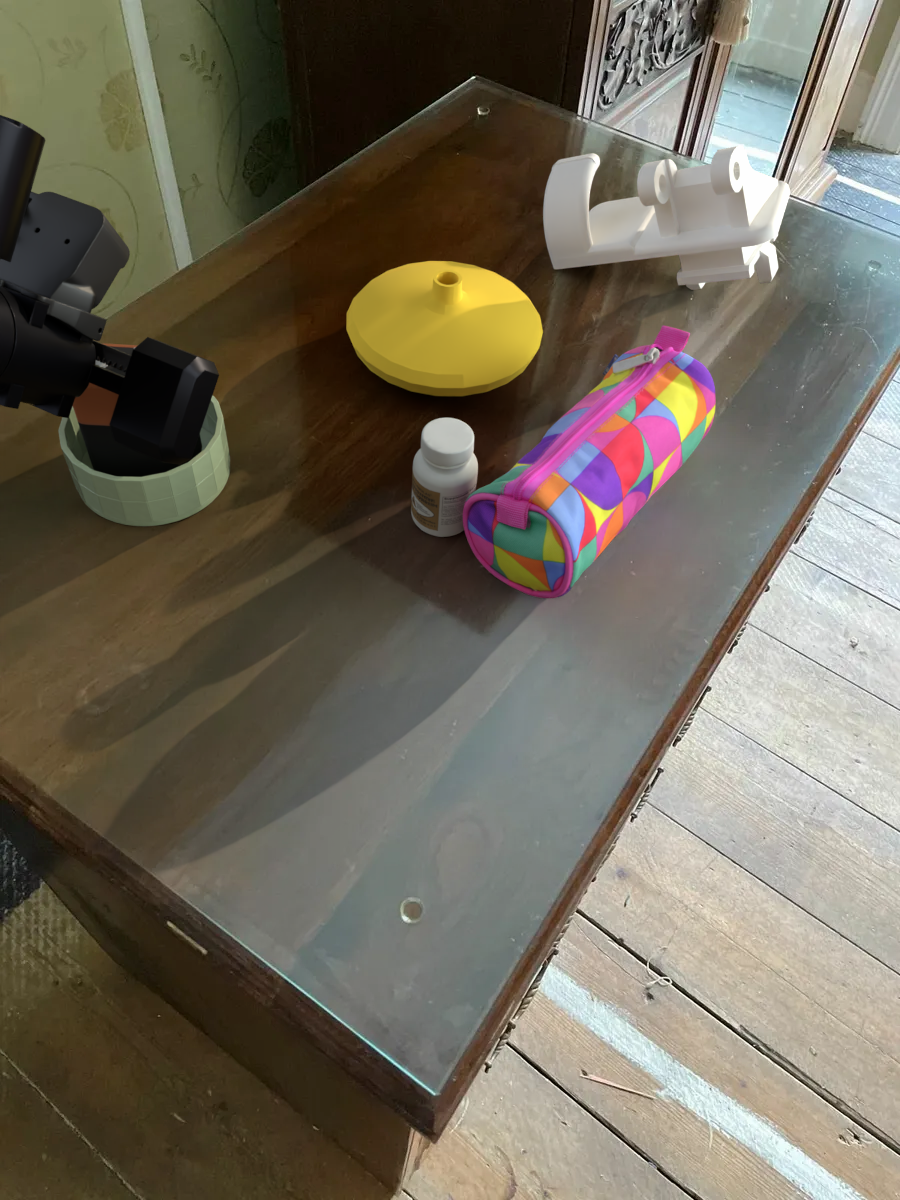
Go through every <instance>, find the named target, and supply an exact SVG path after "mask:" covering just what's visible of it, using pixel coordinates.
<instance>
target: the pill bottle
mask: <svg viewBox="0 0 900 1200" xmlns="http://www.w3.org/2000/svg"><path fill="white" fill-rule="evenodd" d="M474 433H475V432H474V431H473V429H472V428H471V426H470V425H469V424H467V423H466V422H464V421H462V420H461V419H458V418H454V417H439V418H435V419H433V420H431V421H429V422H427V423H426V424H425V425H424V427H423V428H422V431H421V436H420V448H419V449H418V450H417V451H416V453H415V455H414V457H413V461H412V474H411V478H412V479H411V501H410V502H411V503H410V513H411V518H412V521H413V523H414V524H415V525H416V526H417V527H418V529H420V530H421V532H422V531H423V532H424V533H426V534H428V535H431V536H434V537H440V538H444V537H452V536H456V535H459V534H460V533H462V532H464V526H463V509H464V505H465V502H466V500H467V498H468V497H469V495H470V494H472V493H473V492H475V491H476V490H477V483H478V474H479V463H478V458H477V456H476V455H475V453H474V450H475V434H474Z"/></svg>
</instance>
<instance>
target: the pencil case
mask: <svg viewBox="0 0 900 1200" xmlns="http://www.w3.org/2000/svg"><path fill="white" fill-rule="evenodd" d="M690 335H691V333H690V332H689V331H686V330H682V329H679V328H676V327H672V326H668V325H664V324H663V325H661V327H660V330H659V331H658V334H657V335H656V337H655V339H654V340H653V343H652V344H646V345H645V344H644V345H640V346H637V347H635V348H632V349H629V350H627V351H625V352H624V353H622V354H621V355H620V356H619V355H618V354H617V353H614V354H613V356H612V358H611V360H610V361H609V363H608V364H607V366H606V367H605V369H604V370H603V372H602V375H603V376H604V377H603V378H602V380H601V381H600V383H599V384H598V385H596V386H595V387H594V388H593V389H591V390H590V391H589V392H588V393H587V394H586V395H585V396H584V397H583V398H582V399H580V400H579V401H578V402H577V403H576V404H574V405H573V407H571V408H570V409H569V410H568V411H566V412H565V413H564V414H563V415H562V416H561V417H560V418H559V419H558V420H557V421H555V422H554V423H553V424H552V425H551V426H550V427H549V428H548V430H547V431H546V432H545V434H544V435H543V437H542V438H541V441H540V442H539V443H538V444H536V445H535V446H534V447H533V448H532V449H531V450H530V451H528V452H527V453H526V454H524V455H523V456H522V457H521V458H520V459H519V460H518V461H517V462H516V463H515V464H514V465H513V467H512V468H511V469H509V471H507V472H505V474H502V475H501V476H499V477H498V478H496V479H494V480H493V481H492V482H491V483H489V484H486V485H485V486H482V487H479V488H478V489H476V491H475V492H473V493H472V494H470V495H469V497H468V498H467V500H466V502H465V505H464V509H463V526H464V530H463V532H464V534H465V537H466V539H467V543H468V545H469V547H470V549H471V552H472V553H473V555H474V556H475V558H476V559H477V561H478V562H479V563H480V564H481V565H482V566H483V568H485V569H486V570H487V571H488V572H489V573H490V574H491V575H493V577H494V578H497V579H498V580H499V581H500V582H502V583H505V584H506V585H507V586H509V587H510V588H512V589H515V590H516V591H519V592H521V593H523V594H525V595H528V596H531V597H534V598H539V599H557V598H561V597H563V596H565V595H566V594H568V593H570V591H571V590H572V588H573V587H574V585H575V584H576V582H577V581H578V580H579V579H580V577H581V576H582V574H583V573H584V571H586V570H587V569H588V568H589V567H590V566H591V565H592V564H593V563H594V562H595V561H596V560H597V559H598V557H599V556H600V555H601V554H602V553H603V552H604V551H605V550H606V548H607V547H608V546H609V545H610V543H611V542H612V541H613V540H614V539H615V537H617V536H618V535H619V534H620V533H621V532H622V531H624V530H625V529H626V528H627V527H628V525H630V524H629V523H630V521H632V520H633V518H634V517H635V516H636V515H637V513H639V511H640V510H641V509H642V508H643V507H644V506H645V505H646V504H647V503H648V501H649V500H650V499H651V497H652V496H653V495H654V494H655V493H657V492H658V490H659V489H661V487H663V485H664V484H666V483H667V482H668V480H670V479H671V478H672V477H673V476H674V475H675V474H676V473H677V472H678V470H680V468H681V467H682V466H683V465H684V464H685V463H686V462H687V460H688V459H689V458H690V457H691V455H692V454H693V453H694V451H695V450H696V449H697V447H698V446H699V444H700V443H701V442H702V441H703V440H704V439H705V438H706V436H707V435H708V433H709V432H710V431H711V428H712V426H713V423H714V419H715V414H716V404H717V403H716V387H715V381H714V379H713V377H712V374H711V372H710V371H709V369H708V368H707V367H706V365H704V364H703V363H702V362H700V361H699V360H698V359H696V358H694V357H692V356H691V355H689V354H687V353H686V352H684V351H683V350H684V349H685V347H686V346H687V344H688V342H689V338H690Z"/></svg>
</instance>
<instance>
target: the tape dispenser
mask: <svg viewBox="0 0 900 1200" xmlns="http://www.w3.org/2000/svg"><path fill="white" fill-rule="evenodd" d="M600 164H601V158H600V156H599V155H598V154H597V153H594V152H592V153H591V152H590V153H586V154H581V155H576V156H571V157H565V158H560V159H558V160H557V161H556V162H554V163H553V165H552V167H551V170H550V173H549V176H548V179H547V182H546V186H545V190H544V197H543V207H542V216H543V217H542V221H543V233H544V239H545V244H546V248H547V252H548V255H549V260H550V262H551V265H552V268H553V270H563V269H564V270H565V269H572V268H581V267H588V266H589V267H590V266H597V265H607V264H614V263H615V264H616V263H623V262H629V261H631V262H632V261H639V260H647V259H656V258H665V257H671V256H673V257H674V256H678V257H679V262H680V268H679V270H678V271H677V272H676V282H677V286H686V288H688V289H689V290H691V291H695V290H702V289H703V288H704V286H705V284H707V283H717V282H727V281H737V280H746V279H747V280H748V279H751V278H752V276H753V275H754V273H755V272H756V274H757V275H756V276H757V281H758V283H759V284H768V283H771V282H772V281H773V279H774V278H775V276H776V274H777V272H778V270H779V261H778V256H777V248H776V245H774V244H773V242H775V241H776V240H777V238H778V236H779V231H780V228H781V225H782V222H783V220H784V219H783V218H784V215H785V212H786V209H787V205H788V202H789V198H790V195H791V190H790V189H791V188H790V185H789V184H788V183H787V182H786V181H783V180H778V178H776V177H773V176H770V175H767V174H765V173H762V172H761V171H757V170H755V169H753V167H752V166H751V164H750V161H749V158H748V154H747V151H746V149H745V148H744V147H743V146H742V145H737V146H731V147H726V148H720V149H716V152H715V153H714V154H713V156H712V158H711V163H708V164H702V165H697V166H691V167H685V168H680V169H678V167H677V165H676V163H675V162H674V161H673V160H672V159H671V158H665V159H659V160H655V161H650V162H646V163H644V164H643V165H642V166H641V167H640V169H639V171H638V174H637V180H636V189H637V196H633V197H627V198H621V199H613V200H609V201H604V202H601V203H598V204H597V205H595V206H593V207H592V208H591V209H590V196H591V189H592V184H593V181H594V177H595V175H596V173H597V170H598V168H599V167H600ZM755 269H756V271H755Z"/></svg>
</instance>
